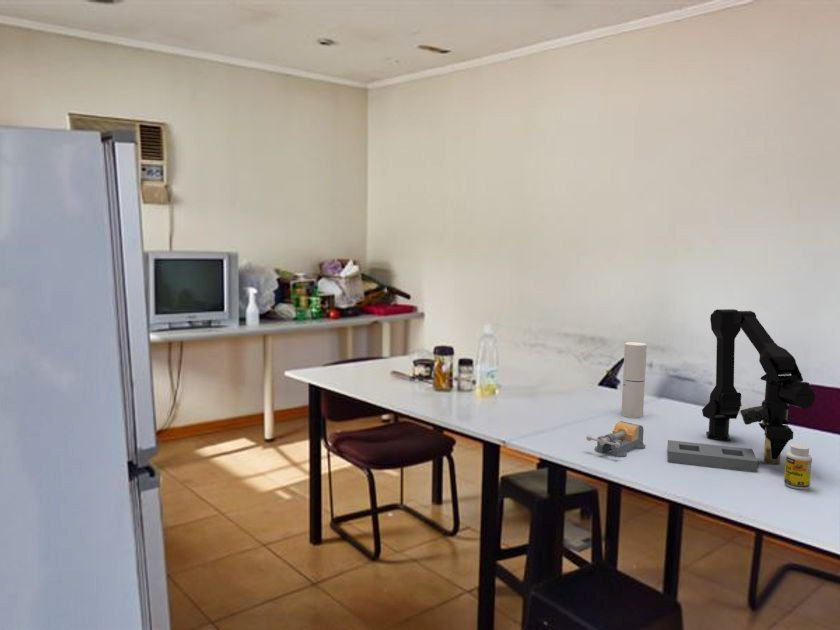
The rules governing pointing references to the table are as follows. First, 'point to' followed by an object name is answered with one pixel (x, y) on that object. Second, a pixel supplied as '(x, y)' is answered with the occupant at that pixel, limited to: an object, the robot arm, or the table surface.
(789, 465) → the supplement bottle
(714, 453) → the jig
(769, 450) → the cylinder
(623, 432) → the vise
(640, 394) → the cylindrical container
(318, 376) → the table surface
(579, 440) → the table surface
